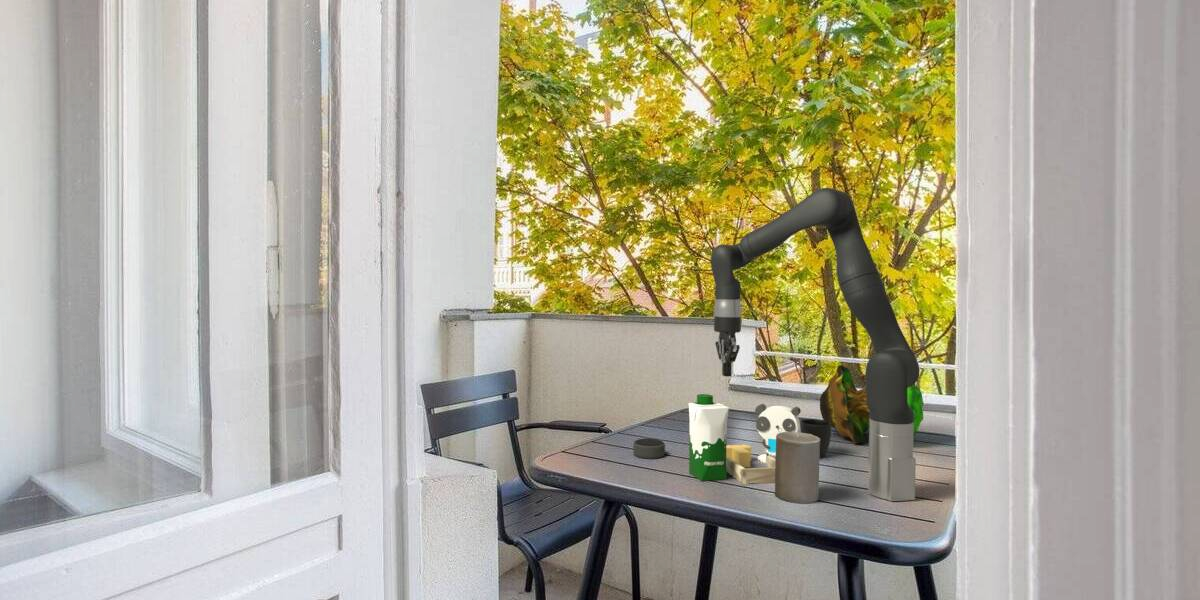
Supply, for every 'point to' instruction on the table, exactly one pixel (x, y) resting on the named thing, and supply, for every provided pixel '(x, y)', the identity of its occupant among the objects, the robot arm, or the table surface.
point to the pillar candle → (797, 467)
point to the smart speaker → (649, 448)
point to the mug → (818, 432)
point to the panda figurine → (775, 425)
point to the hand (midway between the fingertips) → (726, 376)
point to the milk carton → (707, 438)
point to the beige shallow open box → (752, 472)
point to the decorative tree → (857, 406)
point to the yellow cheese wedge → (739, 454)
